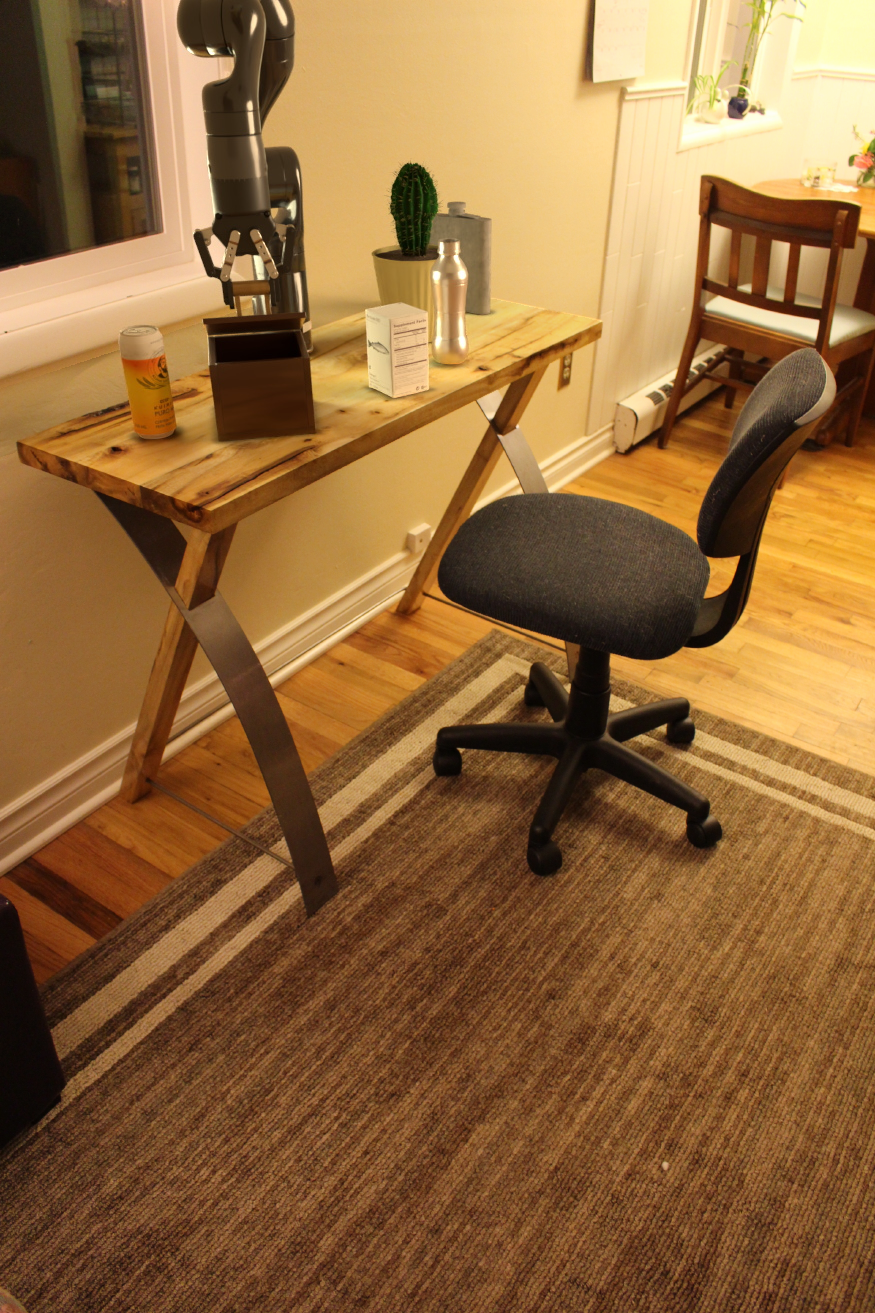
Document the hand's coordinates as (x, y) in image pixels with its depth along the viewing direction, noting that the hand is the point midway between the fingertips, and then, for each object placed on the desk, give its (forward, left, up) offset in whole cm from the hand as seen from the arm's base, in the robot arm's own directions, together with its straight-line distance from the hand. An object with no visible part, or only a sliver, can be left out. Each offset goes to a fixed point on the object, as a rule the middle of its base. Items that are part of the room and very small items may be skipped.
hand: (252, 306), depth 142 cm
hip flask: (-20, +71, -18) cm, 76 cm away
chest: (-3, +2, -18) cm, 18 cm away
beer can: (-12, -11, -18) cm, 24 cm away
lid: (-3, +2, -4) cm, 5 cm away
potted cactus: (-14, +51, -18) cm, 56 cm away
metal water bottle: (+2, +41, -18) cm, 45 cm away
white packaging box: (+4, +25, -18) cm, 31 cm away
